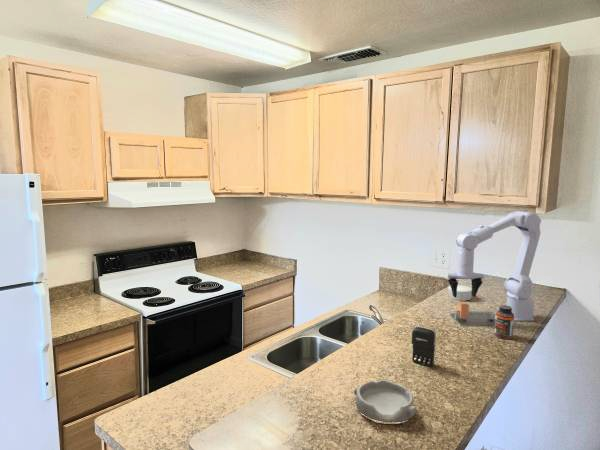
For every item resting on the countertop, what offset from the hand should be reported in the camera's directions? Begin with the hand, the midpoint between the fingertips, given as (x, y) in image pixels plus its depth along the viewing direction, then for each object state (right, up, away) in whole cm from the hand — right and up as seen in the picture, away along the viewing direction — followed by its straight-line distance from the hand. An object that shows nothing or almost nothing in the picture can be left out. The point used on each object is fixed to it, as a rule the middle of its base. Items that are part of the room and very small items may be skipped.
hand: (464, 296), depth 154 cm
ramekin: (+10, -6, +29) cm, 31 cm away
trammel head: (0, -10, +1) cm, 10 cm away
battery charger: (-28, -15, -34) cm, 47 cm away
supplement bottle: (+8, -12, -15) cm, 21 cm away
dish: (-45, -18, -58) cm, 75 cm away
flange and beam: (+5, -10, +1) cm, 11 cm away
